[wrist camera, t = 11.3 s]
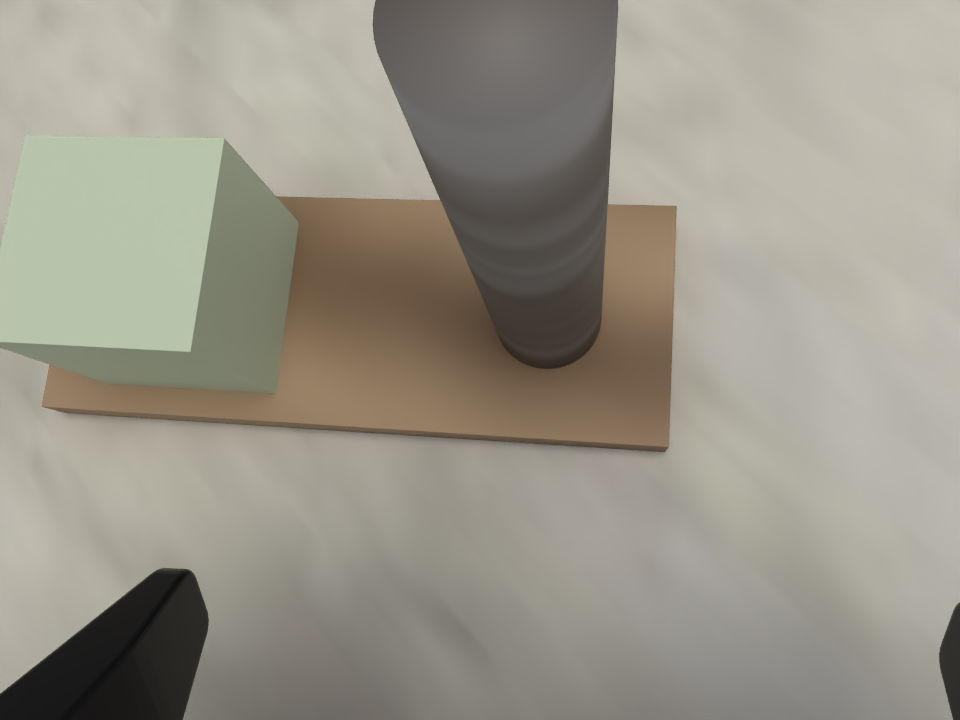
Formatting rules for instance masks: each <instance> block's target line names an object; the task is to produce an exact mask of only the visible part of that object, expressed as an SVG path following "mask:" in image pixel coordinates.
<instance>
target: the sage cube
mask: <svg viewBox="0 0 960 720" xmlns="http://www.w3.org/2000/svg"><path fill="white" fill-rule="evenodd" d="M298 225H299V222H298V220H297V219H296V218H295V217H294V216H293V215H292V214H291V213H290V211H289V210H288V209H287V208H286V207H285V206H284V205H283V204H282V202H281V201H280V200H279V199H278V198H277V197H276V196H275V195H274V194H273V192H272V191H271V190H270V189H269V188H268V187H267V186H266V185H265V183H264V182H263V181H262V180H261V179H260V178H259V177H258V176H257V174H256V173H255V172H254V171H253V170H252V169H251V168H250V167H249V165H248V164H247V163H246V162H245V161H244V160H243V159H242V158H241V156H240V155H239V154H238V153H237V152H236V151H235V150H234V149H233V147H232V146H231V145H230V144H229V143H228V142H227V141H226V140H225V139H224V138H166V137H91V136H24V139H23V144H22V149H21V153H20V158H19V163H18V167H17V172H16V177H15V181H14V186H13V191H12V195H11V200H10V205H9V209H8V214H7V219H6V223H5V228H4V233H3V237H2V242H1V247H0V348H3V349H6V350H9V351H12V352H15V353H18V354H20V355H23V356H26V357H29V358H32V359H35V360H38V361H41V362H44V363H47V364H50V365H53V366H56V367H59V368H62V369H65V370H68V371H70V372H73V373H76V374H79V375H82V376H85V377H88V378H91V379H94V380H97V381H100V382H103V383H106V384H118V385H135V386H152V387H169V388H186V389H203V390H219V391H236V392H253V393H270V394H276V388H277V381H278V373H279V366H280V359H281V351H282V344H283V336H284V329H285V322H286V314H287V307H288V299H289V292H290V284H291V277H292V270H293V262H294V255H295V247H296V240H297V232H298Z"/></svg>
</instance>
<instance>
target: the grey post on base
mask: <svg viewBox="0 0 960 720" xmlns="http://www.w3.org/2000/svg"><path fill="white" fill-rule="evenodd" d="M617 18H618V0H376V1H375V7H374V12H373V32H374V41H375V45H376V49H377V53H378V55H379V58H380V60H381V62H382V65H383V67H384V69H385V72H386V74H387V76H388V79H389V81H390V83H391V86H392V88H393V90H394V93H395V95H396V97H397V100H398V102H399V104H400V107H401V109H402V111H403V114H404V116H405V118H406V121H407V123H408V125H409V128H410V130H411V132H412V135H413V137H414V139H415V142H416V144H417V147H418V149H419V151H420V154H421V156H422V158H423V161H424V163H425V165H426V168H427V170H428V172H429V175H430V177H431V179H432V182H433V184H434V186H435V189H436V191H437V193H438V196H439V198H440V200H399V199H357V198H315V197H277V198H278V199H279V200H280V201H281V202H282V204H283V205H284V206H285V207H286V208H287V209H288V210H289V211H290V213H291V214H292V215H293V216H294V217H295V218H296V219H297V220H298V222H299V225H298V232H297V240H296V247H295V255H294V262H293V270H292V277H291V284H290V292H289V299H288V307H287V314H286V322H285V329H284V336H283V344H282V351H281V359H280V366H279V373H278V381H277V388H276V394H270V393H253V392H236V391H219V390H203V389H186V388H169V387H152V386H135V385H118V384H106V383H103V382H100V381H97V380H94V379H91V378H88V377H85V376H82V375H79V374H76V373H73V372H70V371H68V370H65V369H62V368H59V367H56V366H53V365H50V366H49V371H48V376H47V381H46V386H45V392H44V397H43V402H42V407H45V408H49V409H53V410H57V411H61V412H65V413H78V414H94V415H109V416H124V417H140V418H155V419H170V420H186V421H201V422H216V423H232V424H247V425H262V426H278V427H293V428H308V429H324V430H339V431H354V432H370V433H385V434H400V435H416V436H431V437H446V438H462V439H477V440H492V441H508V442H523V443H538V444H554V445H569V446H584V447H600V448H615V449H630V450H646V451H661V452H665V451H666V450H667V449H668V447H669V425H670V394H671V363H672V332H673V301H674V271H675V240H676V209H677V206H652V205H609V204H608V187H609V169H610V150H611V131H612V112H613V93H614V74H615V56H616V37H617Z"/></svg>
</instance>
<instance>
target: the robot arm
mask: <svg viewBox="0 0 960 720" xmlns="http://www.w3.org/2000/svg"><path fill="white" fill-rule="evenodd" d="M208 623H209V619H208V612H207V609H206V606H205V603H204V600H203V597H202V594H201V591H200V588H199V585H198V582H197V579H196V577H195V575H194V573H193V572H192V571H190V570H188V569H172V568H162V569H159V570H156V571H155V572H153V573H152V574H150V575H149V576H148V577H147V578H145V579H144V580H143V581H142V582H140V583H139V584H138V585H137V586H135V587H134V588H133V589H132V590H130V591H129V592H128V593H127V594H125V595H124V596H123V597H121V598H120V599H119V600H118V601H116V602H115V603H114V604H113V605H111V606H110V607H109V608H108V609H106V610H105V611H104V612H103V613H101V614H100V615H99V616H98V617H96V618H95V619H94V620H93V621H91V622H90V623H89V624H87V625H86V626H85V627H84V628H82V629H81V630H80V631H79V632H77V633H76V634H75V635H74V636H72V637H71V638H70V639H69V640H67V641H66V642H65V643H64V644H62V645H61V646H60V647H59V648H57V649H56V650H55V651H53V652H52V653H51V654H50V655H48V656H47V657H46V658H45V659H43V660H42V661H41V662H40V663H38V664H37V665H36V666H35V667H33V668H32V669H31V670H30V671H28V672H27V673H26V674H25V675H23V676H22V677H21V678H19V679H18V680H17V681H16V682H14V683H13V684H12V685H11V686H9V687H8V688H7V689H6V690H4V691H3V692H2V693H1V694H0V720H183V717H184V713H185V710H186V706H187V703H188V699H189V696H190V692H191V688H192V685H193V681H194V678H195V674H196V671H197V667H198V664H199V660H200V657H201V653H202V649H203V646H204V642H205V639H206V635H207V631H208ZM939 662H940V669H941V673H942V677H943V681H944V685H945V689H946V693H947V697H948V701H949V705H950V709H951V713H952V717H953V720H960V603H958V604H957V605H956V607H955V609H954V611H953V613H952V616H951V619H950V622H949V624H948V627H947V630H946V633H945V635H944V638H943V641H942V644H941V647H940V653H939Z"/></svg>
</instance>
